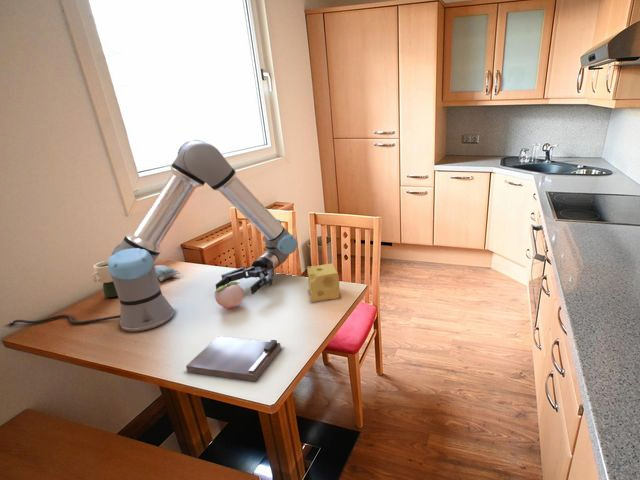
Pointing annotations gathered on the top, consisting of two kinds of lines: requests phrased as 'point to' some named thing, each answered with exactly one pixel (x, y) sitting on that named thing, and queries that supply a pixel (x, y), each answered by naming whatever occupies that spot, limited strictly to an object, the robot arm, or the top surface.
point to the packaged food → (165, 272)
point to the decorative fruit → (229, 295)
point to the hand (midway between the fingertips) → (234, 289)
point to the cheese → (323, 282)
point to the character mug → (104, 278)
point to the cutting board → (235, 358)
